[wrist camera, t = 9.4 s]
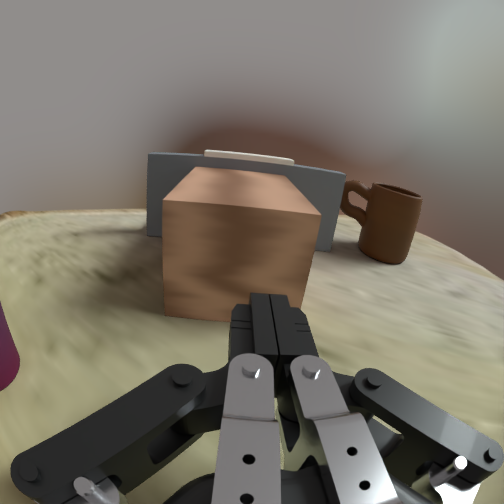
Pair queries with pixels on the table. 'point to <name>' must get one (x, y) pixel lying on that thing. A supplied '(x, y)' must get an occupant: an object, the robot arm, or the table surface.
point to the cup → (7, 354)
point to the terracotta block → (234, 241)
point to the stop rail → (302, 177)
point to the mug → (384, 219)
